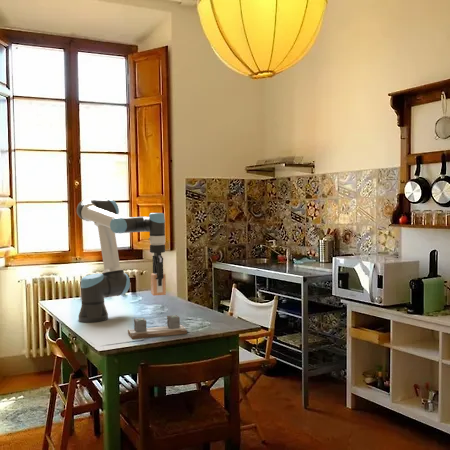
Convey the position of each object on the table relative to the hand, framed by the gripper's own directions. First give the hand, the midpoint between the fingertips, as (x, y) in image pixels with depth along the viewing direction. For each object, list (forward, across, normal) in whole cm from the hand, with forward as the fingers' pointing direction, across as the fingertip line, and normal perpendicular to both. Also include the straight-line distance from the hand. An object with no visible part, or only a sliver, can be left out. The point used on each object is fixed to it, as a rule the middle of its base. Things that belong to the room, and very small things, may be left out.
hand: (158, 291), depth 260 cm
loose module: (+1, 0, 0) cm, 1 cm away
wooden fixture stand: (+17, +16, -4) cm, 24 cm away
